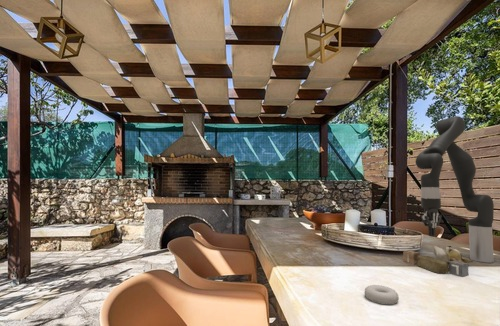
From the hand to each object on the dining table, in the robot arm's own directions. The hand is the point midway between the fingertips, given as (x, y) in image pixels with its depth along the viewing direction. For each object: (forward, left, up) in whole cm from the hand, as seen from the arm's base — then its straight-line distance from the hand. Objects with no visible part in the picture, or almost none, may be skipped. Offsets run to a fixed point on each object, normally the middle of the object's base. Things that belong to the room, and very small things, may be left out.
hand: (432, 236), depth 124 cm
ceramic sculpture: (-18, -2, -15) cm, 24 cm away
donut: (+51, +12, -15) cm, 54 cm away
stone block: (+1, 0, -15) cm, 15 cm away
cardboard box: (-1, -11, -15) cm, 18 cm away
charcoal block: (-2, +9, -15) cm, 17 cm away
